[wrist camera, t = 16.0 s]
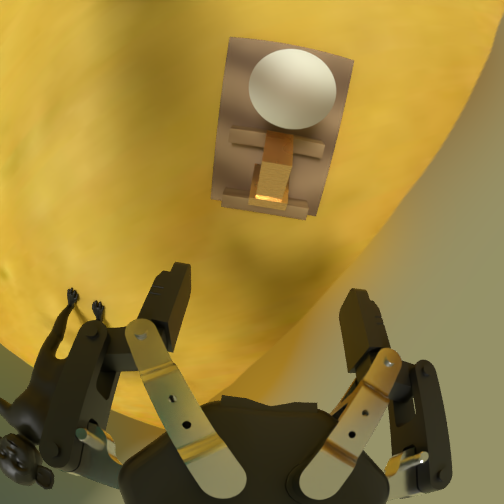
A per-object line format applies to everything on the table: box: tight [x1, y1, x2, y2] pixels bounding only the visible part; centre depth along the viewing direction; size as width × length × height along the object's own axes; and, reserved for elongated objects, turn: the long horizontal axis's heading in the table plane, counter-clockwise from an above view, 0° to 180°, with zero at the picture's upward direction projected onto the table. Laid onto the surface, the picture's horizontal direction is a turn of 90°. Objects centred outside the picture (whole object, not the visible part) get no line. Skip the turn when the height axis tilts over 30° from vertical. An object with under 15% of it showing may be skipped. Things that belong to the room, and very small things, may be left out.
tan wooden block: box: [248, 130, 294, 211], centre depth 24 cm, size 4×4×6 cm
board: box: [211, 37, 354, 220], centre depth 21 cm, size 18×12×10 cm, turn 172°
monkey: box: [0, 288, 104, 489], centre depth 33 cm, size 40×20×40 cm, turn 66°
